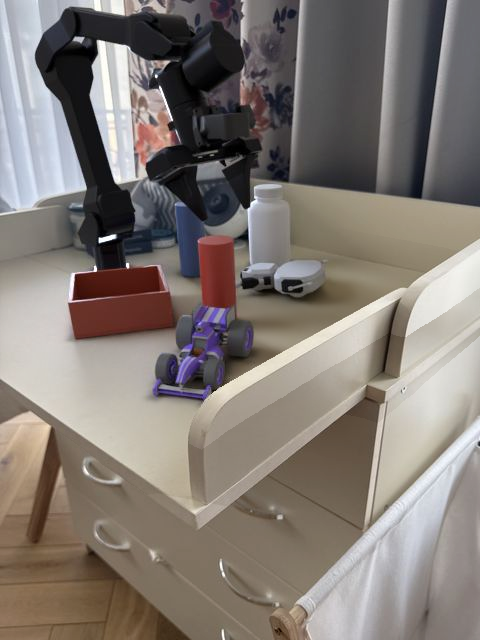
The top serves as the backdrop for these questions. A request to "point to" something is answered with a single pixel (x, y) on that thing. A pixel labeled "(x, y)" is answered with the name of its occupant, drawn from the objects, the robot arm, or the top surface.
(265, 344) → the top surface
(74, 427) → the top surface
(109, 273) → the red bin
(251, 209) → the pill bottle
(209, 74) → the robot arm
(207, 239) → the red pin
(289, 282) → the robot toy
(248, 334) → the toy race car
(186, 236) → the blue pin
